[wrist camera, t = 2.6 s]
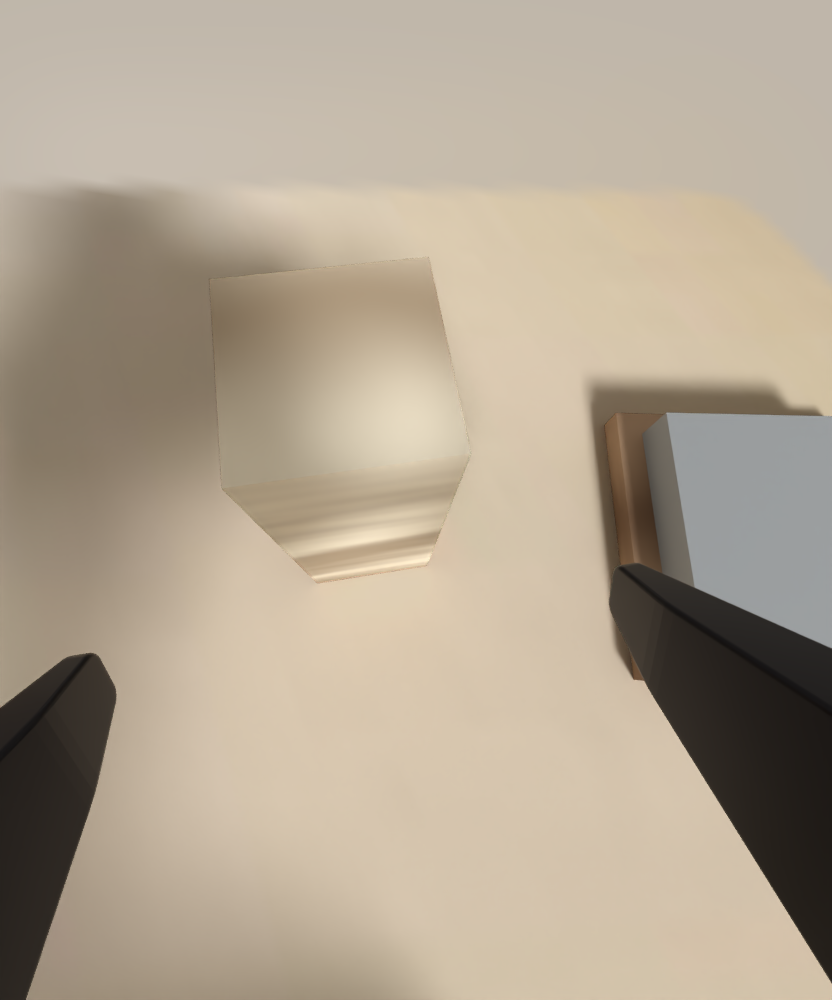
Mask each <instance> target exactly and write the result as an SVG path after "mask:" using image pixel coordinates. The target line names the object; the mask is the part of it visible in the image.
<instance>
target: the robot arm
mask: <svg viewBox="0 0 832 1000" xmlns="http://www.w3.org/2000/svg"><path fill="white" fill-rule="evenodd" d="M609 606H610V610H611V613H612V616H613V618H614V620H615V622H616V624H617V626H618V628H619V630H620V632H621V634H622V636H623V638H624V640H625V642H626V644H627V646H628V649H629V651H630V653H631V655H632V657H633V659H634V661H635V663H636V665H637V667H638V669H639V671H640V673H641V675H642V677H643V679H644V681H645V683H646V685H647V687H648V689H649V690H650V692H651V694H652V695H653V697H654V699H655V700H656V702H657V704H658V705H659V707H660V708H661V710H662V712H663V713H664V715H665V716H666V718H667V720H668V721H669V723H670V724H671V726H672V728H673V729H674V731H675V733H676V734H677V736H678V737H679V739H680V741H681V742H682V744H683V745H684V747H685V749H686V750H687V752H688V753H689V755H690V757H691V758H692V760H693V761H694V763H695V765H696V766H697V768H698V769H699V771H700V773H701V774H702V776H703V777H704V779H705V781H706V782H707V784H708V785H709V787H710V789H711V790H712V792H713V793H714V795H715V797H716V798H717V800H718V802H719V803H720V805H721V806H722V808H723V810H724V811H725V813H726V814H727V816H728V818H729V819H730V821H731V822H732V824H733V826H734V827H735V829H736V830H737V832H738V834H739V835H740V837H741V838H742V840H743V842H744V843H745V845H746V846H747V848H748V850H749V851H750V853H751V854H752V856H753V858H754V859H755V861H756V862H757V864H758V866H759V867H760V869H761V871H762V872H763V874H764V875H765V877H766V879H767V880H768V882H769V883H770V885H771V887H772V888H773V890H774V891H775V893H776V895H777V896H778V898H779V899H780V901H781V903H782V904H783V906H784V907H785V909H786V911H787V912H788V914H789V915H790V917H791V919H792V920H793V922H794V923H795V925H796V927H797V928H798V930H799V931H800V933H801V935H802V936H803V938H804V940H805V941H806V943H807V944H808V946H809V948H810V949H811V951H812V952H813V954H814V956H815V957H816V959H817V960H818V962H819V964H820V965H821V967H822V968H823V970H824V972H825V973H826V975H827V976H828V978H829V980H830V981H831V983H832V648H830V647H828V646H826V645H823V644H821V643H819V642H817V641H814V640H812V639H810V638H807V637H805V636H803V635H801V634H798V633H796V632H794V631H792V630H789V629H787V628H785V627H783V626H780V625H778V624H776V623H774V622H771V621H769V620H767V619H765V618H762V617H760V616H758V615H756V614H753V613H751V612H749V611H747V610H744V609H742V608H740V607H738V606H735V605H733V604H731V603H729V602H726V601H724V600H722V599H720V598H717V597H715V596H713V595H711V594H708V593H706V592H704V591H702V590H699V589H697V588H695V587H693V586H690V585H688V584H686V583H683V582H681V581H679V580H677V579H674V578H672V577H670V576H668V575H665V574H663V573H661V572H659V571H656V570H654V569H652V568H650V567H647V566H645V565H643V564H640V563H629V564H623V565H618V566H617V567H615V569H614V571H613V576H612V583H611V591H610V598H609ZM115 704H116V689H115V686H114V684H113V682H112V680H111V678H110V676H109V674H108V672H107V670H106V669H105V667H104V665H103V663H102V661H101V659H100V658H99V656H97V655H96V654H94V653H86V654H80V655H74V656H70V657H67V658H65V659H63V660H62V661H61V662H59V663H58V664H57V665H55V666H54V667H53V668H51V669H50V670H49V671H48V672H46V673H45V674H44V675H42V676H41V677H40V678H39V679H37V680H36V681H35V682H33V683H32V684H31V685H29V686H28V687H27V688H26V689H24V690H23V691H22V692H20V693H19V694H18V695H17V696H15V697H14V698H13V699H11V700H10V701H9V702H7V703H6V704H5V705H4V706H2V707H1V708H0V1000H26V998H27V995H28V992H29V989H30V986H31V983H32V980H33V977H34V974H35V971H36V968H37V965H38V962H39V959H40V956H41V953H42V950H43V947H44V944H45V941H46V938H47V935H48V932H49V929H50V926H51V923H52V920H53V917H54V915H55V912H56V909H57V906H58V903H59V900H60V897H61V894H62V891H63V888H64V885H65V882H66V879H67V876H68V873H69V870H70V867H71V864H72V861H73V858H74V855H75V852H76V849H77V846H78V843H79V840H80V837H81V834H82V831H83V828H84V825H85V822H86V819H87V816H88V813H89V810H90V807H91V804H92V801H93V798H94V794H95V791H96V787H97V783H98V779H99V775H100V771H101V766H102V762H103V757H104V753H105V748H106V744H107V739H108V735H109V730H110V726H111V721H112V717H113V713H114V708H115Z"/></svg>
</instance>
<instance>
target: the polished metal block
mask: <svg viewBox="0 0 832 1000" xmlns="http://www.w3.org/2000/svg"><path fill="white" fill-rule="evenodd" d="M209 284H210V301H211V318H212V335H213V352H214V369H215V386H216V403H217V420H218V437H219V454H220V471H221V488H222V489H223V490H224V491H225V492H226V493H227V494H228V495H229V496H230V497H231V498H232V499H233V500H234V501H235V502H236V503H237V504H238V505H239V506H240V507H241V508H242V509H243V510H244V511H245V512H246V513H247V514H248V515H249V516H250V517H251V518H252V519H253V520H254V521H255V522H256V523H257V524H258V525H259V526H260V527H261V528H262V529H263V530H264V531H265V532H266V533H267V534H268V535H269V536H270V537H271V538H272V539H273V540H274V541H275V542H276V543H277V544H278V545H279V546H280V547H281V548H282V549H283V550H284V551H285V552H286V553H287V554H288V555H289V556H290V557H291V558H292V559H293V560H294V561H295V562H296V563H297V564H298V565H299V566H300V567H301V568H302V569H303V570H304V571H305V572H306V573H307V574H308V575H309V576H310V577H311V578H312V579H313V580H314V581H315V582H316V583H323V582H329V581H336V580H342V579H348V578H354V577H361V576H367V575H373V574H379V573H386V572H392V571H398V570H404V569H410V568H417V567H423V566H427V564H428V562H429V559H430V557H431V554H432V552H433V549H434V547H435V544H436V541H437V539H438V536H439V534H440V531H441V529H442V526H443V524H444V521H445V519H446V516H447V514H448V511H449V509H450V506H451V504H452V501H453V499H454V496H455V494H456V491H457V489H458V486H459V484H460V481H461V478H462V476H463V473H464V471H465V468H466V466H467V463H468V461H469V458H470V456H471V449H470V445H469V440H468V436H467V431H466V426H465V422H464V417H463V412H462V408H461V403H460V399H459V394H458V389H457V385H456V380H455V375H454V371H453V366H452V362H451V357H450V352H449V348H448V343H447V338H446V334H445V329H444V324H443V320H442V315H441V311H440V306H439V301H438V297H437V292H436V287H435V283H434V278H433V274H432V269H431V264H430V260H429V257H422V258H412V259H402V260H392V261H382V262H373V263H363V264H353V265H343V266H333V267H323V268H313V269H303V270H293V271H283V272H273V273H264V274H254V275H244V276H234V277H224V278H214V279H209Z"/></svg>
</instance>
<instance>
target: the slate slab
mask: <svg viewBox="0 0 832 1000" xmlns="http://www.w3.org/2000/svg"><path fill="white" fill-rule="evenodd" d="M642 437H643V443H644V450H645V457H646V464H647V471H648V478H649V485H650V491H651V498H652V505H653V512H654V519H655V526H656V533H657V539H658V546H659V553H660V560H661V567H662V573H663V574H665V575H668V576H670V577H672V578H674V579H677V580H679V581H681V582H683V583H686V584H688V585H690V586H693V587H695V588H697V589H699V590H702V591H704V592H706V593H708V594H711V595H713V596H715V597H717V598H720V599H722V600H724V601H726V602H729V603H731V604H733V605H735V606H738V607H740V608H742V609H744V610H747V611H749V612H751V613H753V614H756V615H758V616H760V617H762V618H765V619H767V620H769V621H771V622H774V623H776V624H778V625H780V626H783V627H785V628H787V629H789V630H792V631H794V632H796V633H798V634H801V635H803V636H805V637H807V638H810V639H812V640H814V641H817V642H819V643H821V644H823V645H826V646H828V647H830V648H832V416H795V415H751V414H706V413H665V414H664V415H663V416H662V417H661V418H660V419H659V420H657V421H656V422H655V423H654V424H653V425H652V426H651V427H649V428H648V429H647V430H646V431H645V432H644V433H643V434H642Z"/></svg>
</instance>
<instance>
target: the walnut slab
mask: <svg viewBox="0 0 832 1000" xmlns="http://www.w3.org/2000/svg"><path fill="white" fill-rule="evenodd" d="M663 415H664V414H638V413H615V414H614V416H613V417H612V418H611V419H610V420H609V421H608V422H607V423H606V424H605V425H604V427H605V436H606V445H607V453H608V462H609V471H610V479H611V488H612V497H613V505H614V514H615V523H616V531H617V540H618V549H619V557H620V565H623V564H629V563H640V564H643V565H645V566H647V567H650V568H652V569H654V570H656V571H659V572H661V573H662V567H661V560H660V553H659V546H658V539H657V533H656V526H655V519H654V512H653V505H652V498H651V491H650V485H649V478H648V471H647V464H646V457H645V450H644V443H643V437H642V434H643V433H644V432H645V431H646V430H647V429H648V428H649V427H651V426H652V425H653V424H654V423H655V422H656V421H657V420H659V419H660V418H661V417H662V416H663ZM631 662H632V670H633V679H634V680H644V679H643V677H642V675H641V673H640V671H639V669H638V667H637V665H636V663H635V661H634V659H633V657H632V655H631Z"/></svg>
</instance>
